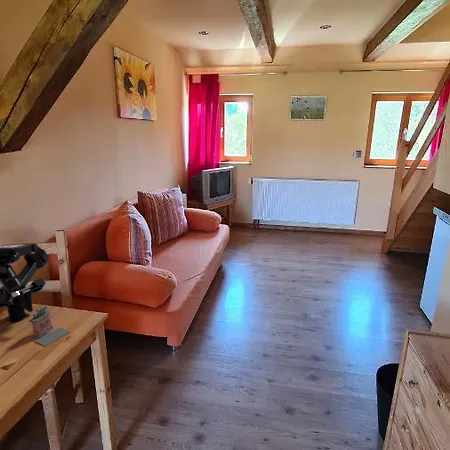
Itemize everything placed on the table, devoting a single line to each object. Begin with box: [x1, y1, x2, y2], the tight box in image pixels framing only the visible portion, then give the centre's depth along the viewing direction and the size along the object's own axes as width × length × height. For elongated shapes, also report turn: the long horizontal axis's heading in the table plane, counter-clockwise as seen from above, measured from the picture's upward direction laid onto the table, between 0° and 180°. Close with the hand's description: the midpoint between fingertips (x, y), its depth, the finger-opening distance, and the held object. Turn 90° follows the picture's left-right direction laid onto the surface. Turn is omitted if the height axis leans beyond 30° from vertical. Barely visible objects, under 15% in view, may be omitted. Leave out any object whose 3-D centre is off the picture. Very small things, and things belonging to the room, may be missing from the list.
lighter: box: [30, 304, 54, 340], centre depth 125 cm, size 8×3×10 cm, turn 166°
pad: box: [34, 326, 71, 347], centre depth 124 cm, size 6×10×1 cm, turn 151°
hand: (31, 311), depth 127 cm, fingers closed
